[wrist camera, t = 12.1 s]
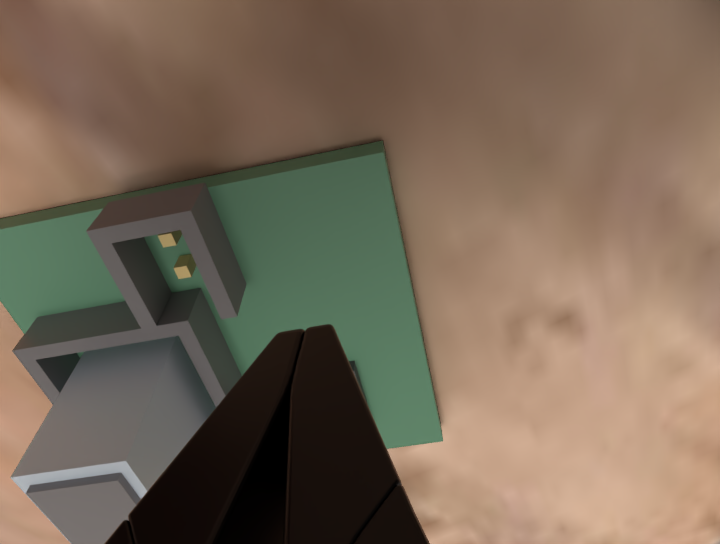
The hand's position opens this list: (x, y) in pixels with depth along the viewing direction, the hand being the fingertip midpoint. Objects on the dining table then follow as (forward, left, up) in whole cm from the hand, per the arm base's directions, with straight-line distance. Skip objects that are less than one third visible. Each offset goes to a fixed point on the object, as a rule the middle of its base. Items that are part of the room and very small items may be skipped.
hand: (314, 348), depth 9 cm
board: (+7, +9, -12) cm, 17 cm away
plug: (+10, +10, -11) cm, 18 cm away
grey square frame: (+11, +10, -12) cm, 18 cm away
